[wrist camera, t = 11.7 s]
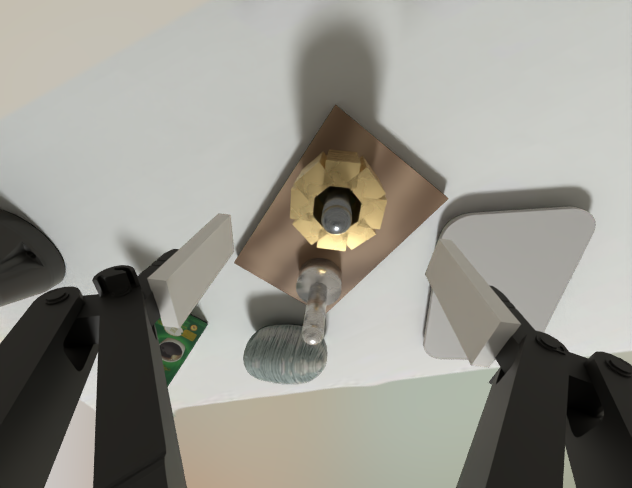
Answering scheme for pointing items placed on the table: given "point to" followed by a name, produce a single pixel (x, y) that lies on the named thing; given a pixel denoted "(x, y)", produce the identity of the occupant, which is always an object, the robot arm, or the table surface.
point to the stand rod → (317, 295)
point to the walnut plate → (294, 250)
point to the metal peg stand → (337, 209)
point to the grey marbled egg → (284, 355)
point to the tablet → (514, 263)
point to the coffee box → (177, 343)
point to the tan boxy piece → (338, 173)
